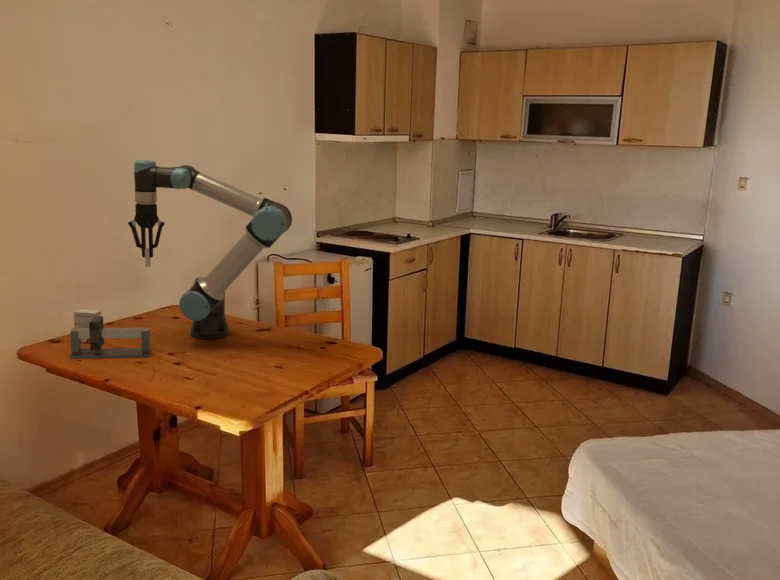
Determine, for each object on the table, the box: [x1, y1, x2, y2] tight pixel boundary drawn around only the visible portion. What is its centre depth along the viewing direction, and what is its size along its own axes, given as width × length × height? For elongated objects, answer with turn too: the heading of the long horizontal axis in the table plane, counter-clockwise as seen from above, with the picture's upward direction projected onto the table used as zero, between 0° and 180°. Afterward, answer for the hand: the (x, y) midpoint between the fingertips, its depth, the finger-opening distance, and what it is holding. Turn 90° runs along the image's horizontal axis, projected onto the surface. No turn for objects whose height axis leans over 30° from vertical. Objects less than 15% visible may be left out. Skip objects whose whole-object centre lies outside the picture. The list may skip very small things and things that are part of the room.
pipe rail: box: [69, 327, 152, 359], centre depth 244 cm, size 26×8×10 cm, turn 102°
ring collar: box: [89, 316, 105, 350], centre depth 243 cm, size 3×8×10 cm, turn 11°
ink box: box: [73, 308, 102, 344], centre depth 257 cm, size 9×5×12 cm, turn 84°
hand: (147, 265), depth 256 cm, fingers closed
